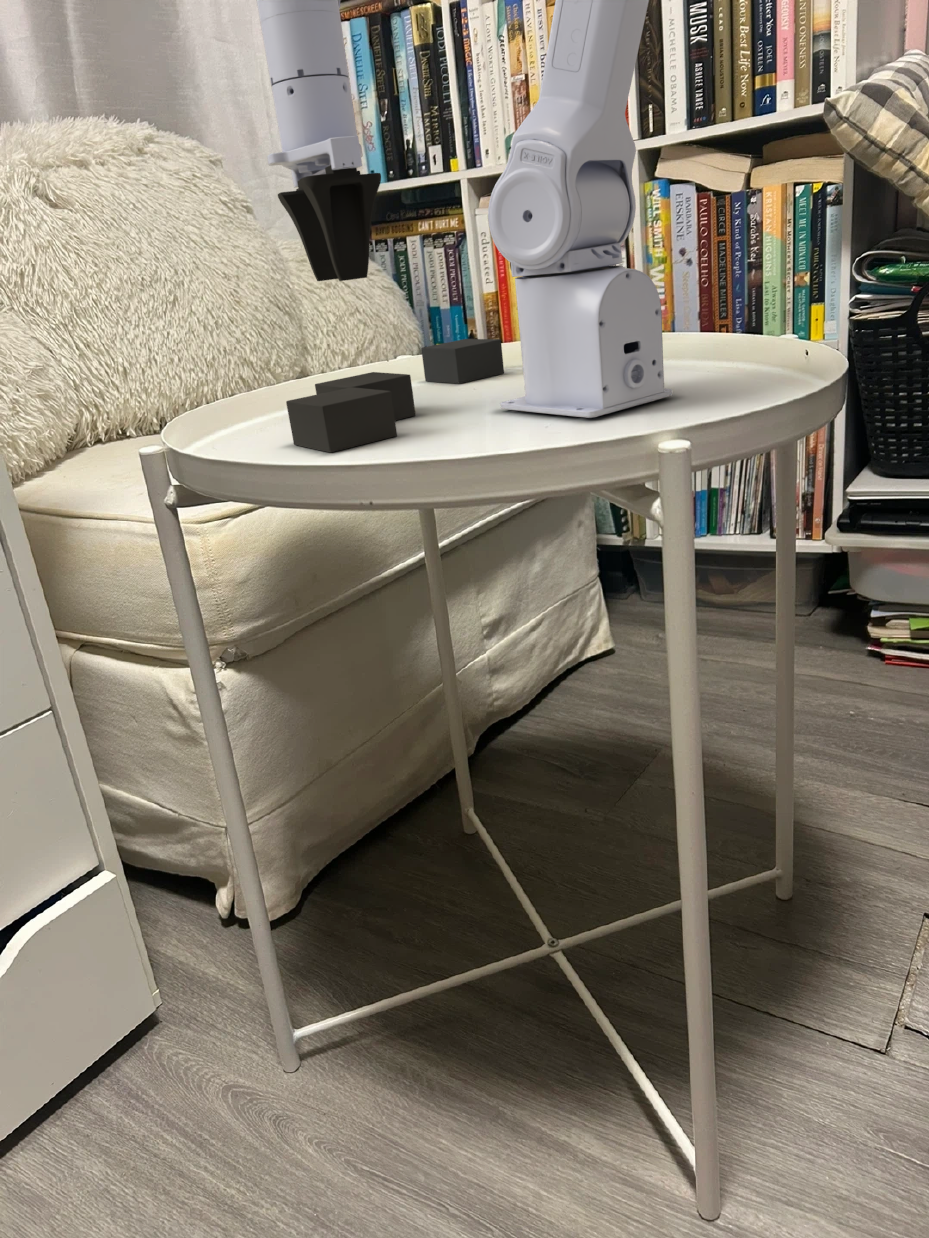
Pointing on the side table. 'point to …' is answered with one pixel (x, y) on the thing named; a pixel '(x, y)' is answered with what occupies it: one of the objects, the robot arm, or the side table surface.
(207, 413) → the side table surface
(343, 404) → the pad middle
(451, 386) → the side table surface
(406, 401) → the pad top
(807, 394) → the side table surface
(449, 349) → the pad base
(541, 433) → the side table surface
